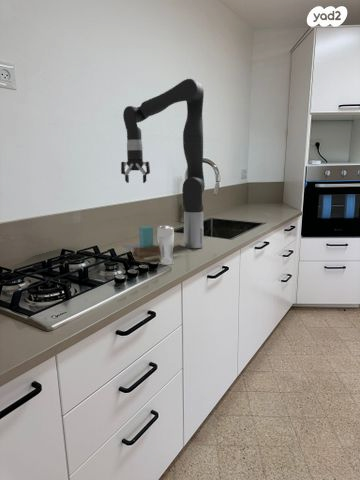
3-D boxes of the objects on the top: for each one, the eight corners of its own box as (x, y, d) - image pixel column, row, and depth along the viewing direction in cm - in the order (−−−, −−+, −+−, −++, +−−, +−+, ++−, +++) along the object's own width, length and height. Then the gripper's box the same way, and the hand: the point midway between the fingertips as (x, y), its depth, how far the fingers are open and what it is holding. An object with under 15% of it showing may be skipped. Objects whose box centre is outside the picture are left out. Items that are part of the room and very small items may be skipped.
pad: (122, 247, 166) (122, 245, 166) (142, 245, 171) (141, 243, 170) (129, 252, 158) (128, 250, 157) (149, 249, 162) (149, 247, 162)
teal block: (140, 253, 152) (139, 226, 149) (149, 252, 154) (148, 225, 151) (143, 255, 148) (142, 228, 145) (153, 254, 150) (152, 227, 147)
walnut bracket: (124, 254, 154) (124, 243, 152) (157, 250, 160) (157, 240, 159) (136, 264, 140) (136, 252, 138) (172, 258, 146) (172, 247, 145)
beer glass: (168, 266, 136) (167, 229, 133) (154, 263, 140) (153, 227, 136) (177, 262, 142) (177, 226, 138) (163, 259, 145) (163, 224, 142)
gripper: (118, 149, 168) (120, 183, 171) (147, 149, 166) (148, 183, 170) (122, 150, 175) (124, 182, 179) (150, 149, 173) (151, 182, 177)
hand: (136, 182), depth 174 cm, fingers open, 8 cm apart
